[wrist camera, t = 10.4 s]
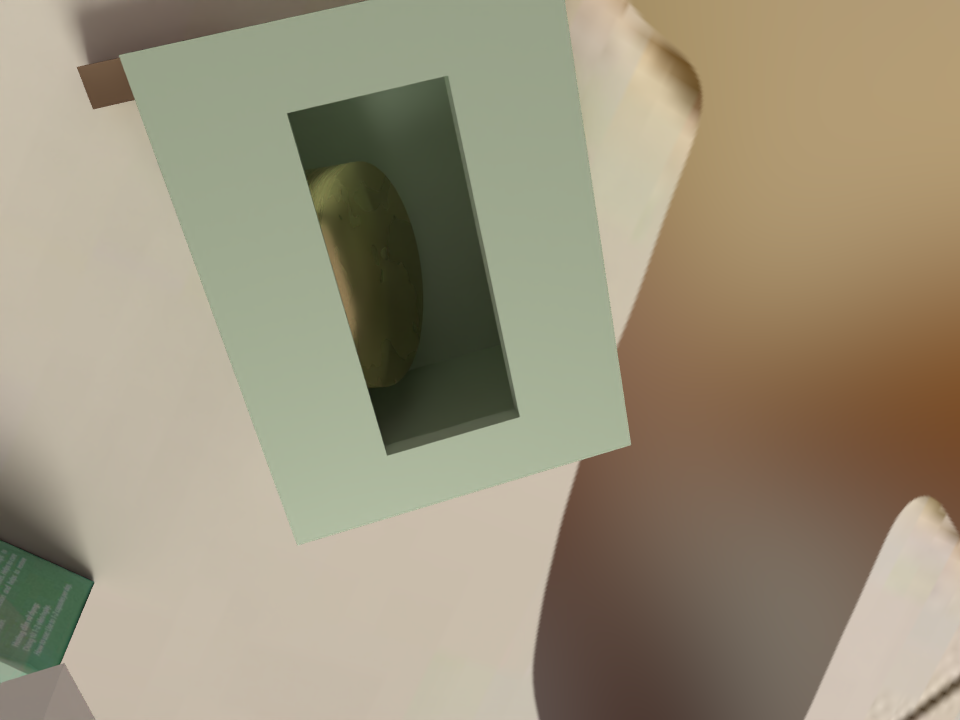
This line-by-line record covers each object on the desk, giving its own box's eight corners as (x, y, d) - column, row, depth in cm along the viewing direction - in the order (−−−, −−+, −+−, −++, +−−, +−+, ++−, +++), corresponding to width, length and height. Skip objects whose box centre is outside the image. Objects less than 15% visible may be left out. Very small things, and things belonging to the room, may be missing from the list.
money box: (177, 55, 33) (118, 55, 22) (475, -11, 35) (558, -42, 24) (296, 410, 40) (297, 545, 29) (541, 341, 41) (631, 444, 30)
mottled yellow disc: (375, 370, 38) (269, 413, 29) (348, 178, 36) (231, 164, 28) (433, 366, 37) (342, 408, 28) (408, 169, 35) (305, 151, 27)
